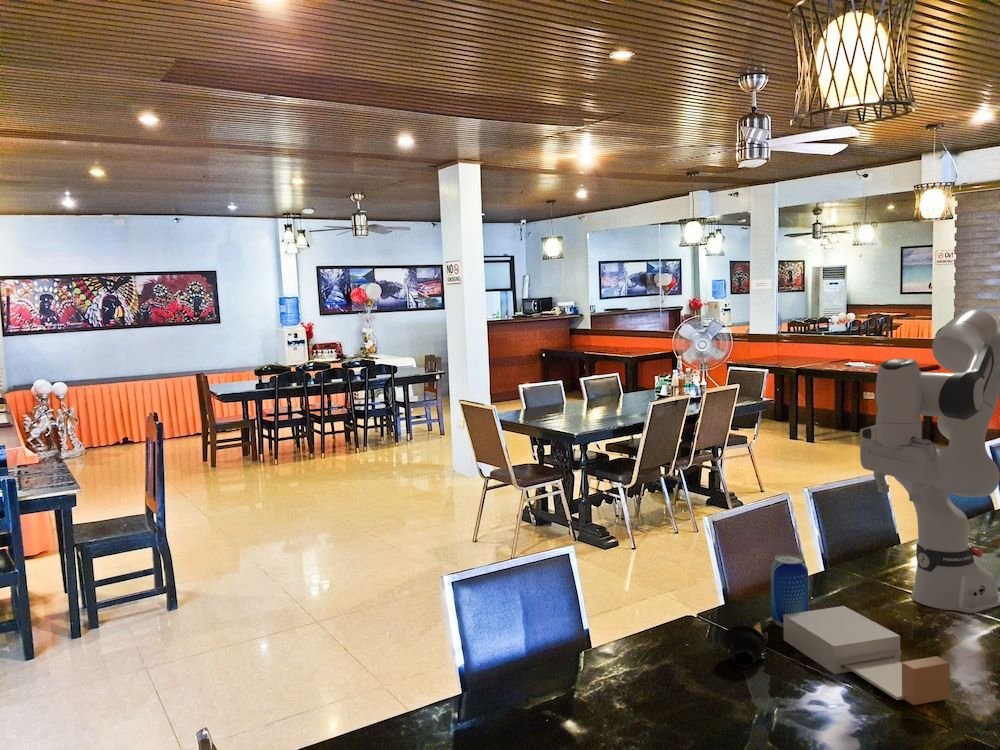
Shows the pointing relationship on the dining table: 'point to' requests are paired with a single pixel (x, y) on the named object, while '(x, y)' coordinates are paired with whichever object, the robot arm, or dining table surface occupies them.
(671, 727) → the dining table surface
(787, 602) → the beer can
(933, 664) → the tan-tipped white bar
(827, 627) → the block
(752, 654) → the fried shrimp in bowl
